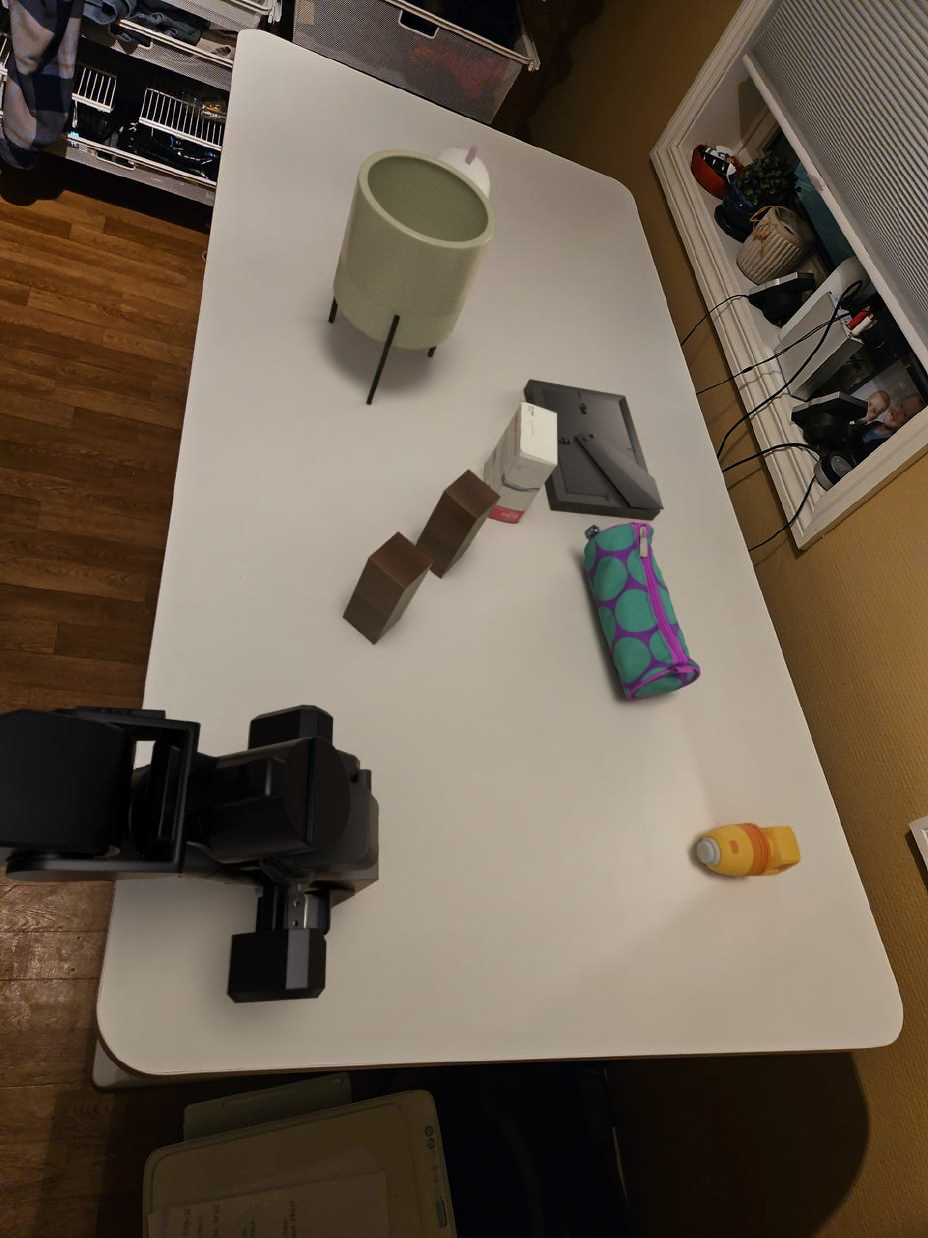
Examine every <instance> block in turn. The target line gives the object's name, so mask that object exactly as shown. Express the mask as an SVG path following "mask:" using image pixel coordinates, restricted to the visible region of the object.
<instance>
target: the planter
mask: <svg viewBox="0 0 928 1238" xmlns="http://www.w3.org/2000/svg"><path fill="white" fill-rule="evenodd" d="M433 157H434V156H430V155H428V154H425V153H421V152H417V151H413V150H406V149H386V150H380V151H377V152H375V153H372V154H370V155H369V156H368V157H366V158H365V159H364V160H363V162H362V163H361V165H360V166H359V170H358V173H357V177H356V182H355V186H354V191H353V194H352V195H353V196H352V199H351V203H350V208H349V212H348V217H347V221H346V226H345V230H344V235H343V239H342V243H341V248H340V252H339V256H338V261H337V266H336V270H335V274H334V278H333V284H332V290H333V297H332V298H333V299H332V301H331V307H330V310H329V315H328V320H327V322H328V323H329V324H331V325H332V324H334V323H335V322H336V317H337V313H338V309H339V310H340V312H341V313H342V314H343V316H344V317H345V318H346V319H347V320H348V321H349V323H351V325H353V327H355V328H356V329H358V330H359V331H360V332H362V333H363V334H364V335H366V336H367V337H370V338H371V339H373V340H375V341H378V342H379V343H381V344H384V345H383V349H382V351H381V354H380V358H379V361H378V363H377V368H376V371H375V373H374V376H373V380H372V383H371V385H370V388H369V392H368V395H367V397H366V398H367V399H366V402H365V403H366V404H367V405H372V402H373V401H374V397H375V395H376V394H375V393H376V391H377V388H378V385H379V382H380V379H381V376H382V373H383V370H384V368H385V364H386V361H387V358H388V355H389V352H390V349H391V347H392V348H393V347H394V348H397V349H402V350H408V351H409V350H411V351H421V350H428V351H427V353H426V355H427V357H428V358H434V355H435V353H436V350H437V347H438V346H440V345H441V344H443V343H444V342H445V341H447V340H448V339H449V337H451V335H452V333H453V332H454V329H455V327H456V325H457V322H458V319H459V318H460V315H461V313H462V310H463V308H464V305H465V303H466V300H467V298H468V296H469V293H470V291H471V289H472V286H473V284H474V282H475V279H476V277H477V274H478V272H479V270H480V267H481V265H482V263H483V260H484V258H485V255H486V254H487V251H488V248H489V246H490V243H491V241H492V239H493V237H494V234H495V231H496V226H497V217H496V213H495V210H494V208H493V205H492V203H491V202H490V200H489V198H487V197H486V195H485V194H484V193H483V192H482V191H481V189H480V188H479V187H478V186H477V185H476V184H475V183H474V182H473V181H472V180H470V179H469V178H468V177H467V176H465V175H464V174H463V173H461V172H460V171H458V170H457V169H455V168H454V167H452V166H450V165H448V164H446V163H444V162H442V161H440V160H438V159H436V158H433Z"/></svg>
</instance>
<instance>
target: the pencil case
mask: <svg viewBox="0 0 928 1238" xmlns="http://www.w3.org/2000/svg"><path fill="white" fill-rule="evenodd" d="M583 534H584V536H585V538H586V539H587V543H586V544H585V546H584V548H583V555H584V567H585V571H586V575H587V579H588V584H589V586H590V589H591V593H592V596H593V599H594V603H595V605H596V608H597V612H598V616H599V620H600V623H601V627H602V632H603V634H604V636H605V639H606V642H607V645H608V648H609V651H610V654H611V657H612V658H613V662H614V666H615V668H616V670H617V671H618V674H619V682H620V685H621V688H622V689H623V693H624V696H625V698H626V699H629V700H635V699H636V700H637V699H639V700H640V699H646V698H649V697H653V696H656V695H662V694H666V693H667V694H668V693H673V692H676V691H679V690H680V689H682V688H686V687H687V686H690V685H691V684H693V683H695V682H696V681H697V680H698V679H699V678H700V677H701V667H700V666H699V664H698V663H697V662H696V661H695V660H694V659H692V658H691V656H690V651H689V648H688V645H687V643H686V639H685V635H684V632H683V631H682V629H681V627H680V624H679V622H678V619H677V616H676V613H675V610H674V606H673V603H672V600H671V597H670V592H669V590H668V587H667V584H666V582H665V578H664V577H663V574H662V571H661V568H660V567H659V565H658V562H657V560H656V558H655V556H654V551H653V548H652V543H653V536H654V534H655V529H654V527H653V526H652V525H651V524H649V523H648V522H637V521H632V522H627V523H618V524H615V525H612V526H609V527H607V528H605V529H603V530H601V528H600V526H597V524H592V525H591V526H590V527H588V528H587V529H586V530H584V532H583Z"/></svg>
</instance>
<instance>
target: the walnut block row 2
mask: <svg viewBox="0 0 928 1238" xmlns="http://www.w3.org/2000/svg"><path fill="white" fill-rule="evenodd" d="M500 497H501V496H500V495H499V494H497V493H496V492H495V491H494V490H493V489H492V488H490V487H489V486H488V485H487V484H486V483H484V480H482V479H481V478H480V477H479V476H478V475H476V474H475V473H474V472H473V471H472V470H470V469H467V470H466V471H465V472H463V473H462V474H461V475H459V476H458V477H457V478H456V479H455V480H454V481H453V482H452V483H451V484H450V485H448V486H447V487H446V488H445V489H444V490H443V492H442V493H441V495H440V497H439V499H438V501H437V502H436V504H435V507H434V508H433V511H432V512H431V514H430V517H429V518H428V519H427V522H426V524H425V526H424V528H423V530H422V531H421V533H420V535H419V537H418V539H417V541H416V542H415V544H414V545H415V546H416V547H417V548H419V549H420V550H421V551H422V552H423V553H424V554H426V555H427V556H428V557H429V558H430V559H431V560H433V561H434V562H433V564H432V566H431V567H430V569H429V571H431V572H432V573H433V574H435V576H437V577H438V578H439V579H442V578H443V577H444V576H445V574H447V573H448V572H449V571H450V570H451V569H452V568H453V567H454V566H455V565H456V564H457V563H458V562H459V561H460V560H461V559H462V558H463V557H464V555H465V554H466V552H467V550H468V549H469V547H470V545H471V544H472V542H473V541H474V539H475V538H476V536H477V535H478V533H479V531H480V530H481V529H482V527H483V525H484V523H485V522H486V521H487V519H488V518H489V517H488V516H489V514H490V513H491V511H492V510H493V508H494V507H495V505H496V504H497V502H498V500H499V499H500Z"/></svg>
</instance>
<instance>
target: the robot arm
mask: <svg viewBox="0 0 928 1238" xmlns="http://www.w3.org/2000/svg"><path fill="white" fill-rule="evenodd" d="M201 727H202V723H200V722H198V721H192V720H191V721H190V720H183V719H182V720H181V719H173V718H167V712H166V710H165V709H151V708H150V709H149V708H131V707H127V708H126V707H113V706H111V707H110V706H95V705H94V706H92V705H73V706H70V707H67V708H60V707H56V708H53V709H52V710H48V711H46V710H40V709H33V708H27V707H26V708H25V707H21V708H17V709H13V710H10V711H6V712H3V713H0V867H1V868H2V867H3V868H5V871H4V874H3V876H4V877H5V878H6V879H10V880H13V881H19V882H30V883H31V882H32V883H82V882H83V883H84V882H109V881H140V880H142V881H143V880H144V881H145V880H159V879H164V878H171V877H177V878H179V879H187V880H192V879H198V880H204V881H211V882H219V883H223V884H224V885H229V886H245V887H253V888H254V892H253V893H254V896H255V897H256V898H257V901H256V913H255V915H256V916H255V929H254V931H250V932H240V933H233V934H231V936H230V942H229V956H228V964H227V965H228V966H227V979H226V989H225V995H226V996H227V997H228V998H229V999H230V1000H231V1001H232V1002H233V1003H234V1004H250V1003H251V1004H252V1003H253V1004H254V1003H264V1002H266V1003H267V1002H282V1001H296V1000H311V999H319V997H320V996H321V994H322V993H323V992H324V990H325V989H326V978H327V945H328V943H327V940H326V938H325V936H326V935H328V934H329V932H330V930H331V926H332V925H331V922H332V909H333V908H335V907H336V906H338V905H340V904H343V903H344V902H346V901H348V900H350V899H351V898H353V897H355V896H356V894H355V890H353V889H349V888H337V889H331V888H327V889H319V890H312V891H304V892H302V891H301V884H308V883H310V877H311V876H312V874H313V872H314V873H325V872H339V871H360V870H367V869H369V868H371V867H372V866H374V864H375V863H376V862H377V860H378V856H380V842H379V843H378V816H379V817H380V805H379V801H378V800H377V799H376V797H375V796H374V795H373V793H372V792H373V791H372V785H373V784H372V778H373V777H372V775H373V771H372V769H367V768H361V761H360V759H359V757H357V755H355V754H353V753H349V752H346V751H344V750H340V749H337V747H336V746H335V745H333V744H334V743H333V741H334V716H333V715H332V714H330V712H328V711H327V710H325V709H323V708H321V707H318V706H317V705H315V704H300V705H295V706H291V707H287V708H282V709H279V710H275V711H270V712H266V713H262V714H258V715H257V716H255V717H254V718H252V719H251V720H250V722H249V726H248V734H247V735H248V736H247V746H246V750H241V751H237V752H232V753H228V754H223V755H219V756H214V755H209V754H206V753H204V752H200V751H199V745H200V744H199V743H200V735H201ZM135 742H153V745H152V751H151V756H150V757H151V758H150V763H149V764H145V765H143V766H139V767H136V768H134V767H135V761H136V756H137V743H135Z"/></svg>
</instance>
